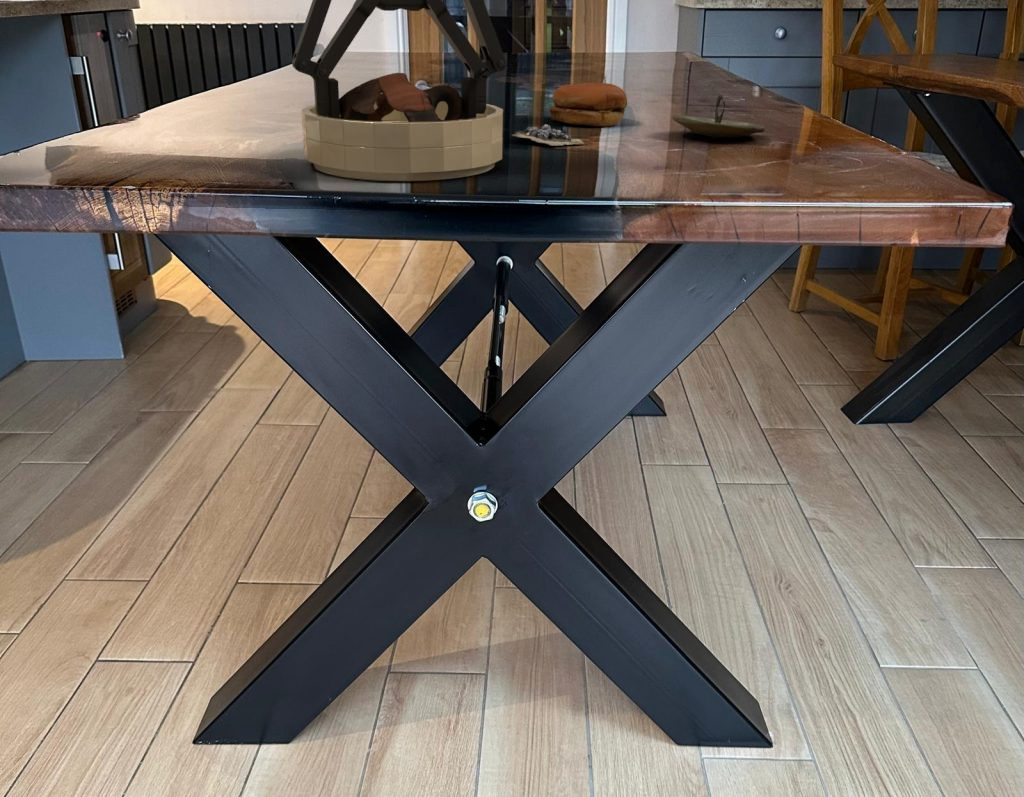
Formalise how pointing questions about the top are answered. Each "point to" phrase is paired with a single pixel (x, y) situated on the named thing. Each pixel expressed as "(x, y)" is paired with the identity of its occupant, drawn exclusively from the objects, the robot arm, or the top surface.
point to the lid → (718, 125)
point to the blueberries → (548, 136)
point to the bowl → (404, 145)
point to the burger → (589, 104)
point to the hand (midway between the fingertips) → (403, 151)
